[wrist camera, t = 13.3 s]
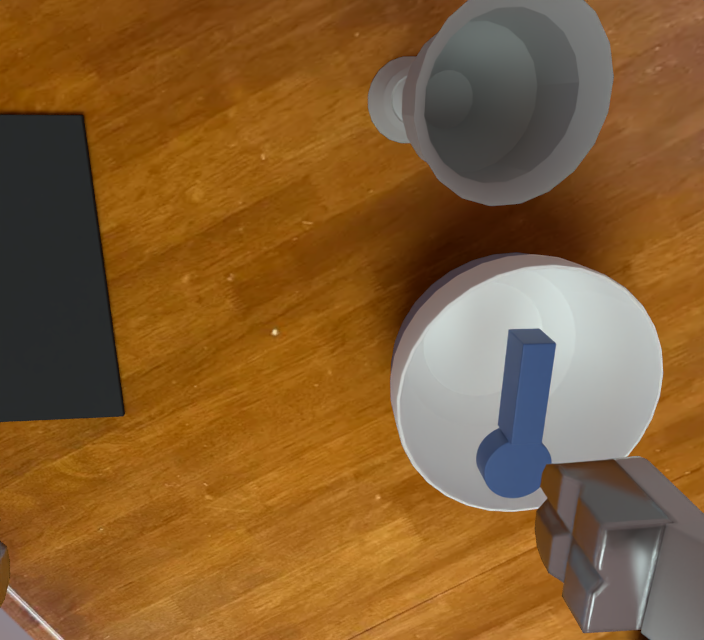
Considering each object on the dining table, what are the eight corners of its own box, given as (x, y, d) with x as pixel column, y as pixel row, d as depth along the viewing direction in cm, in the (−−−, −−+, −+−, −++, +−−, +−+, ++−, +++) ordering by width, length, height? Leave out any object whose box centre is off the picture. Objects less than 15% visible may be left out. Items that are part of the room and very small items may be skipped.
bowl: (325, 336, 42) (337, 400, 33) (500, 178, 39) (565, 200, 30) (462, 468, 47) (505, 555, 38) (625, 336, 44) (712, 396, 35)
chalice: (427, 178, 39) (540, 237, 22) (333, 131, 37) (377, 155, 20) (482, 69, 37) (653, 41, 20) (386, 14, 35) (483, -68, 18)
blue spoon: (488, 329, 32) (502, 344, 30) (558, 327, 33) (577, 342, 31) (472, 484, 36) (484, 507, 34) (536, 480, 36) (551, 503, 34)
